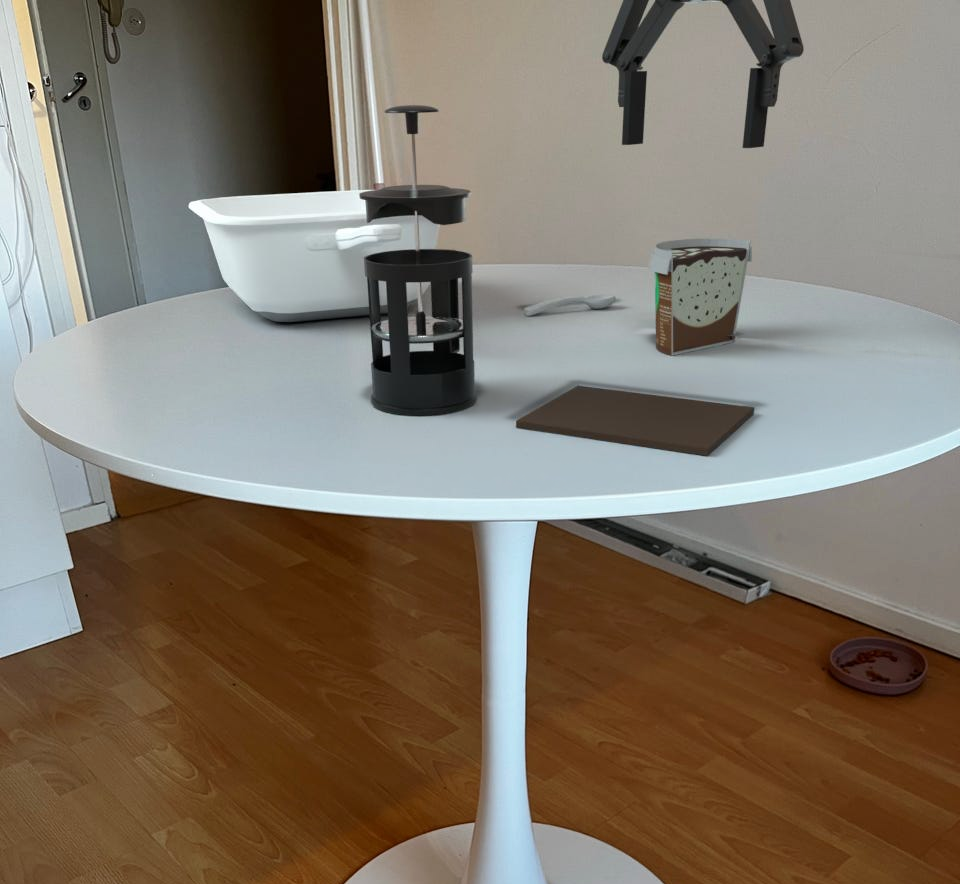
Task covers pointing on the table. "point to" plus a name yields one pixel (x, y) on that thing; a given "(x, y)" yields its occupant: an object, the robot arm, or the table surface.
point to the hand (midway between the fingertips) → (690, 146)
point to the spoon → (591, 301)
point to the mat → (638, 419)
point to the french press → (420, 301)
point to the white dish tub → (306, 251)
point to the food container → (698, 292)
